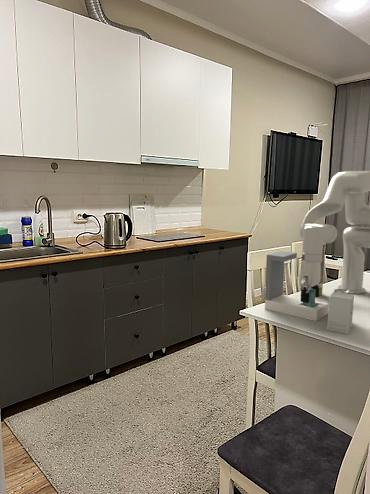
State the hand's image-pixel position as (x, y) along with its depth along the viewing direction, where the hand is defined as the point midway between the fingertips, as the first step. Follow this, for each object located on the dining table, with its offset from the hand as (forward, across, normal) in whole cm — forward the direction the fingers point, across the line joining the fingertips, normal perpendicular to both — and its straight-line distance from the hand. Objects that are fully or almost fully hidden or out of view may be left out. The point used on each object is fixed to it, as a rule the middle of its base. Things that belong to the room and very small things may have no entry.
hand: (309, 299), depth 149 cm
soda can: (+6, +1, +12) cm, 14 cm away
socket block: (+6, 0, -6) cm, 8 cm away
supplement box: (+6, +9, +15) cm, 19 cm away
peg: (+6, 0, 0) cm, 6 cm away
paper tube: (+6, -29, -10) cm, 31 cm away
